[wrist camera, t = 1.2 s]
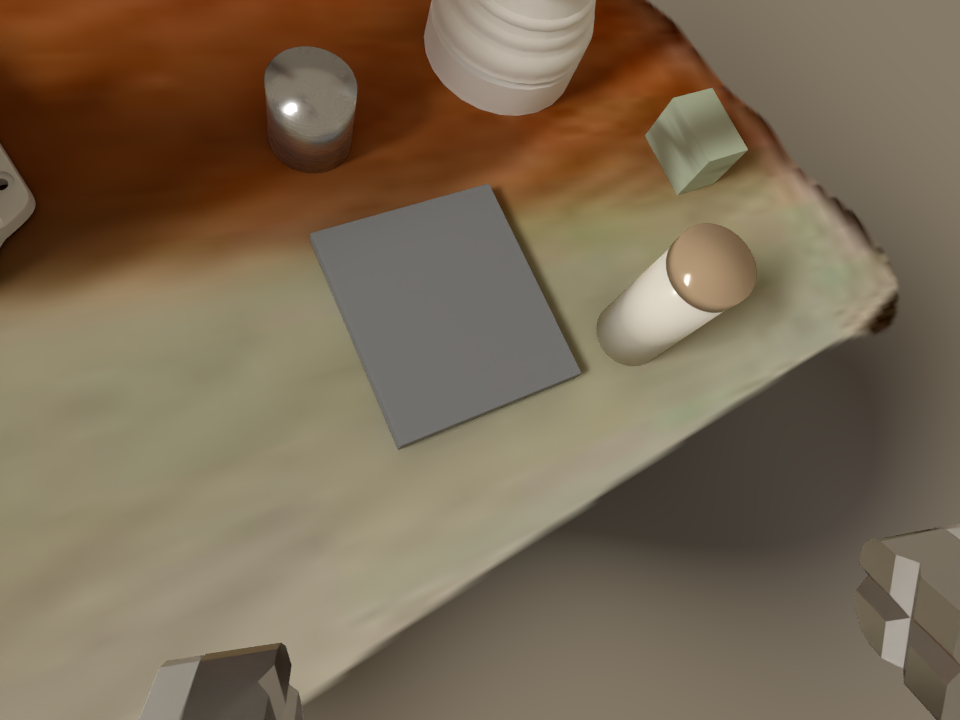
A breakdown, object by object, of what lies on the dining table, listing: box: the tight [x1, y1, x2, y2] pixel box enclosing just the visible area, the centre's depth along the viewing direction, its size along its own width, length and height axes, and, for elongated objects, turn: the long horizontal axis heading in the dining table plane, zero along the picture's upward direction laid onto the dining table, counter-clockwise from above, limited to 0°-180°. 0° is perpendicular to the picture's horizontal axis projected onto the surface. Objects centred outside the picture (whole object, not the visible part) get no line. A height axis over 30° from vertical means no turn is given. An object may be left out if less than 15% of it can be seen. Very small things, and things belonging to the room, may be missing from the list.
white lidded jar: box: [597, 223, 757, 366], centre depth 47 cm, size 5×5×12 cm
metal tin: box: [264, 46, 357, 173], centre depth 49 cm, size 6×6×6 cm
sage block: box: [645, 88, 748, 195], centre depth 57 cm, size 6×4×5 cm, turn 25°
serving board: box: [310, 184, 581, 449], centre depth 49 cm, size 16×14×1 cm
